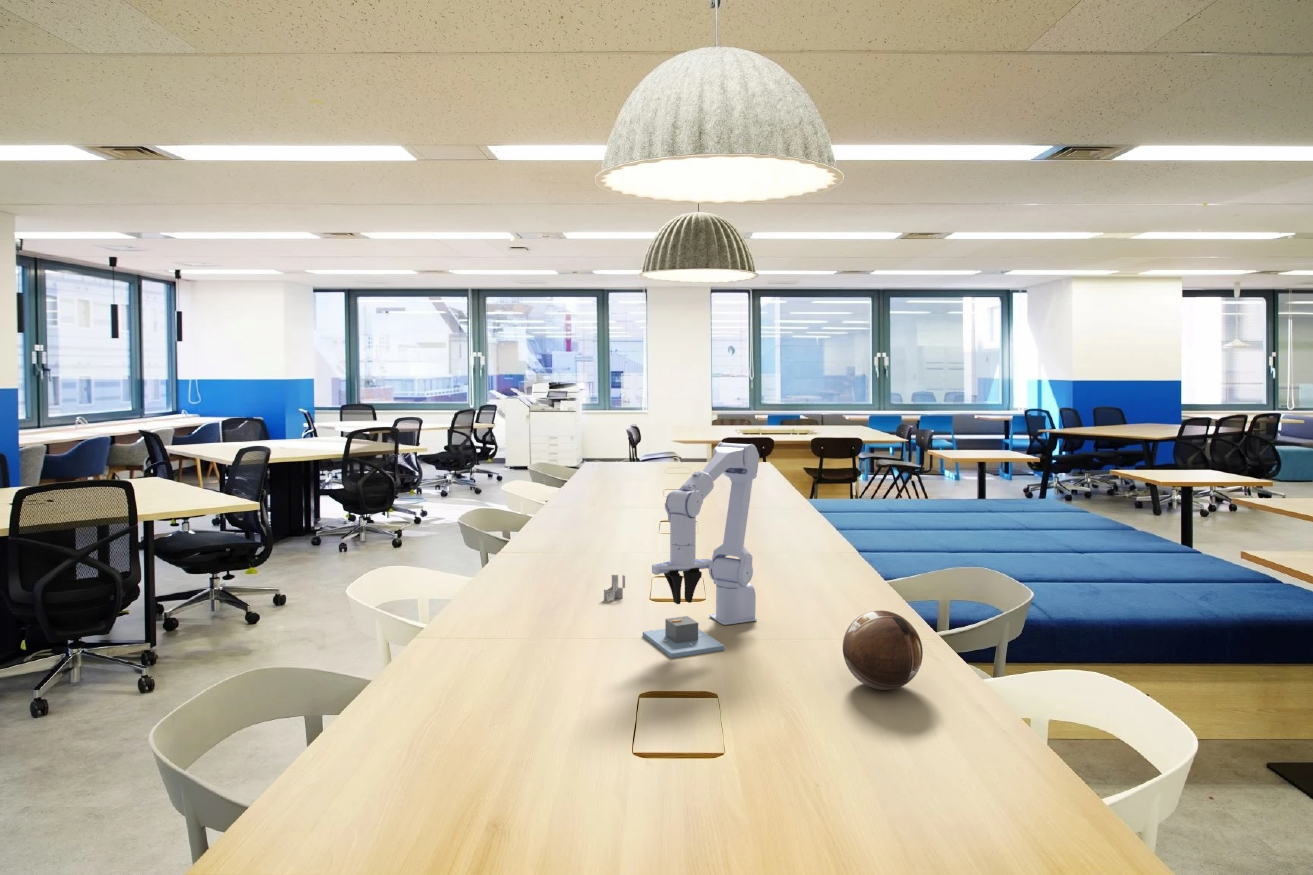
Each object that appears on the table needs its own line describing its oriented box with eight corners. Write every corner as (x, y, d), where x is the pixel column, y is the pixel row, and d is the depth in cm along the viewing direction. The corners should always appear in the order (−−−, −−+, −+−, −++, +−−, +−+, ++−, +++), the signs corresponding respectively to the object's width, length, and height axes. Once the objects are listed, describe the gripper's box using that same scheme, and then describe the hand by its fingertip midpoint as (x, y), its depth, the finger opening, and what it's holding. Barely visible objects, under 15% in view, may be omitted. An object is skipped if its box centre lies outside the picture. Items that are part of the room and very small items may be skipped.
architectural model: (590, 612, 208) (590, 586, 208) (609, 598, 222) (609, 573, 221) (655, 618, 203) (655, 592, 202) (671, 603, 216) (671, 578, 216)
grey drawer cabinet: (687, 632, 187) (687, 614, 187) (698, 640, 182) (698, 621, 182) (665, 636, 185) (665, 617, 184) (675, 643, 180) (676, 624, 179)
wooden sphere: (826, 679, 161) (828, 606, 160) (886, 668, 167) (888, 598, 166) (874, 708, 147) (876, 628, 146) (938, 695, 153) (940, 618, 152)
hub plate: (692, 629, 193) (692, 614, 193) (724, 649, 178) (724, 634, 178) (642, 636, 188) (642, 620, 187) (671, 658, 173) (671, 641, 173)
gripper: (703, 537, 188) (702, 594, 189) (646, 542, 182) (646, 601, 183) (717, 543, 181) (717, 602, 183) (659, 548, 175) (659, 609, 177)
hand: (682, 602), depth 182 cm, fingers closed
